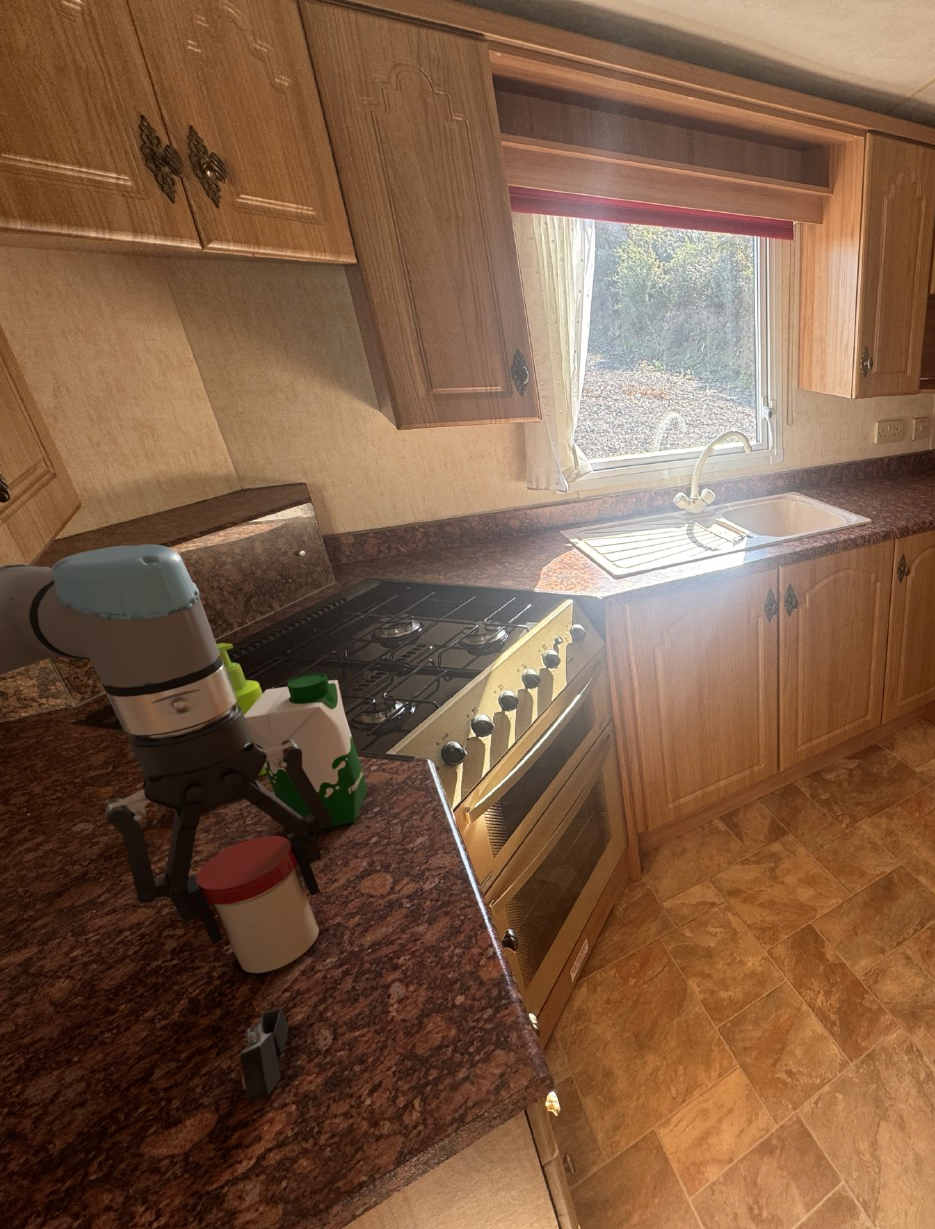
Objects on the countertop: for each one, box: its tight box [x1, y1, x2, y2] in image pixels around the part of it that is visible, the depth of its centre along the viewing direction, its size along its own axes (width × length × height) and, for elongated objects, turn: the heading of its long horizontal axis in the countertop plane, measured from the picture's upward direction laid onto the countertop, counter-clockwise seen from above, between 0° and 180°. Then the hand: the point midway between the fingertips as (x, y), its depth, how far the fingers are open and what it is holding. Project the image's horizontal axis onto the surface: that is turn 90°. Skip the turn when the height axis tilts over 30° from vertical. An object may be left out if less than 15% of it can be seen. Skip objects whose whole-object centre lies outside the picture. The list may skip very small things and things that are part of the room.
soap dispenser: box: [216, 642, 267, 776], centre depth 93 cm, size 6×7×20 cm
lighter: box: [239, 1007, 289, 1105], centre depth 56 cm, size 8×2×5 cm
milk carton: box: [244, 672, 369, 834], centre depth 84 cm, size 9×9×20 cm
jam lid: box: [196, 835, 297, 904], centre depth 64 cm, size 7×7×2 cm
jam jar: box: [211, 866, 320, 974], centre depth 66 cm, size 7×7×11 cm
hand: (265, 909), depth 66 cm, fingers closed on jam lid, 7 cm apart
